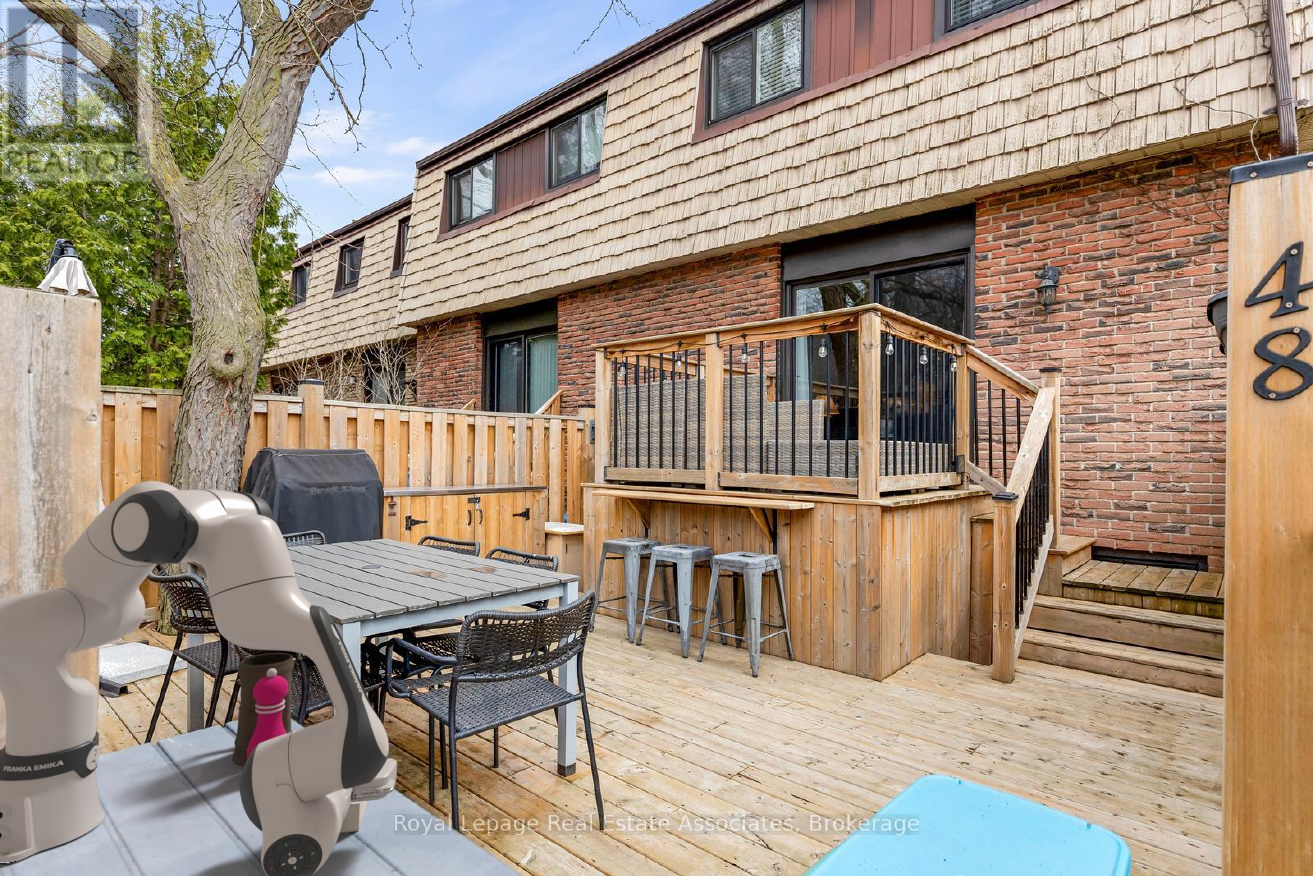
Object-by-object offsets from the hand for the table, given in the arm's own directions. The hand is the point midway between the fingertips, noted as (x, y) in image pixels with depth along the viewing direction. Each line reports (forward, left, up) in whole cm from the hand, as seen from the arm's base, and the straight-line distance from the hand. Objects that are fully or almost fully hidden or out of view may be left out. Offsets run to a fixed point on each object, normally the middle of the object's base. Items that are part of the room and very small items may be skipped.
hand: (338, 760), depth 116 cm
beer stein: (-20, +31, -10) cm, 38 cm away
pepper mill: (-16, +20, -10) cm, 27 cm away
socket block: (0, -1, -9) cm, 10 cm away
